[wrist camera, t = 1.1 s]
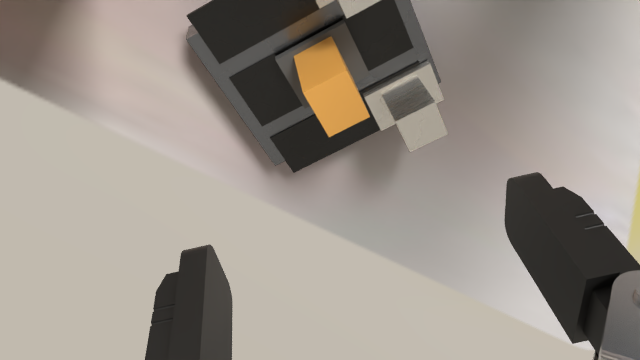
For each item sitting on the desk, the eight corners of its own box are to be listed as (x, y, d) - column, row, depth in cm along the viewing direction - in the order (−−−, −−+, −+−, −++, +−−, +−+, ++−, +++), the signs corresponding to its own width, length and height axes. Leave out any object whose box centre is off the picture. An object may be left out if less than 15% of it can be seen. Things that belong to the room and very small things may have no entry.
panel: (365, -100, 27) (396, -79, 22) (436, 82, 34) (471, 129, 29) (177, 10, 29) (166, 52, 24) (280, 160, 36) (288, 216, 31)
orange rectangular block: (343, 19, 28) (362, 55, 24) (368, 71, 30) (389, 112, 26) (274, 56, 29) (282, 97, 25) (303, 104, 31) (314, 149, 27)
